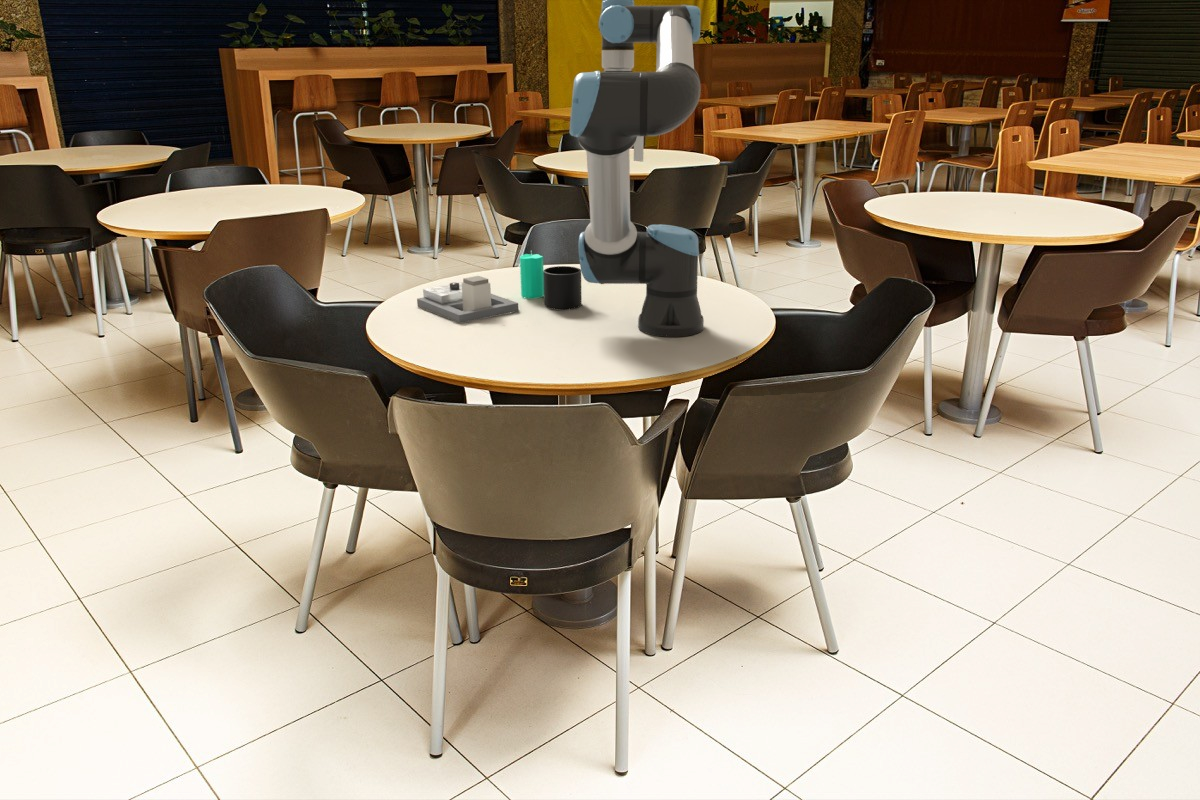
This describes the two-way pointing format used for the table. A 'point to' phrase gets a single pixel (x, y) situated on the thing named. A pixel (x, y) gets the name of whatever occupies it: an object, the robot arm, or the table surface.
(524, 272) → the candle
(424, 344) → the table surface
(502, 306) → the grey flat frame
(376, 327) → the table surface
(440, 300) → the panel
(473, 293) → the plug
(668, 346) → the table surface
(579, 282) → the mug
